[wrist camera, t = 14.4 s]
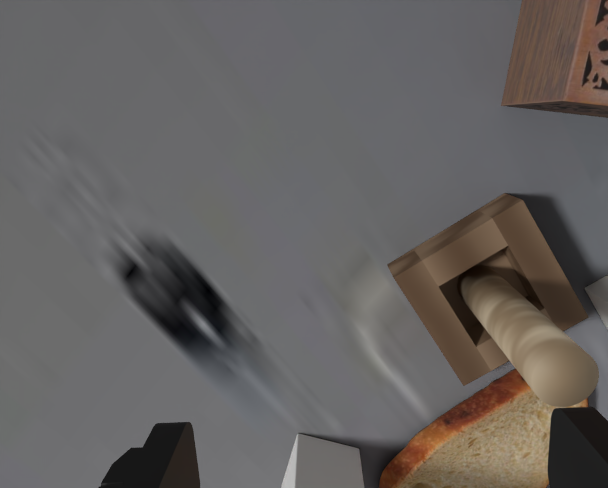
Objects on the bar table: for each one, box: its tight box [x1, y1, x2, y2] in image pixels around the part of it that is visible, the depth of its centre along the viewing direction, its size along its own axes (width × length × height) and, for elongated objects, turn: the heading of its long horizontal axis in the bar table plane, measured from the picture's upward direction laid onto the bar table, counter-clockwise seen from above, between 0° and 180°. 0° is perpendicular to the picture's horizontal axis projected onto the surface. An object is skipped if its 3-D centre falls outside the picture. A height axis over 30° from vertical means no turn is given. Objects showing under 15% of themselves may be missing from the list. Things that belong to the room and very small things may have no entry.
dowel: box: [457, 265, 599, 407], centre depth 34 cm, size 4×4×15 cm
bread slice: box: [379, 369, 588, 488], centre depth 44 cm, size 18×18×4 cm
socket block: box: [388, 193, 588, 386], centre depth 40 cm, size 11×11×4 cm
